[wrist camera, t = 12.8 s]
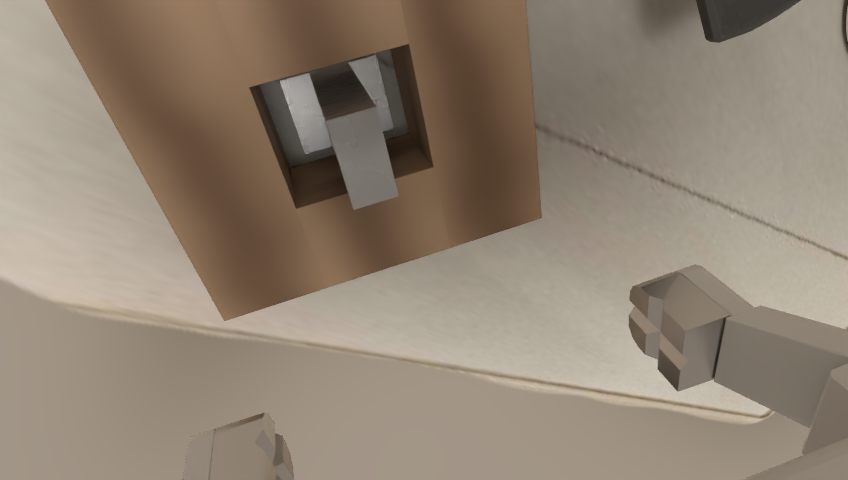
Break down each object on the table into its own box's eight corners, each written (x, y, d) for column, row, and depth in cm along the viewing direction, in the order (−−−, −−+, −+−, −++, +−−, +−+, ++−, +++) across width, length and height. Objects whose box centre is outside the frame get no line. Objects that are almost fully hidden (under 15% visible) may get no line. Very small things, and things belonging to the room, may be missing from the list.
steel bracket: (372, 50, 27) (413, 95, 20) (389, 122, 29) (432, 185, 22) (278, 76, 26) (287, 132, 19) (303, 147, 29) (319, 220, 22)
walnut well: (472, -116, 24) (516, -124, 20) (506, 181, 33) (541, 217, 29) (79, -23, 22) (39, -10, 18) (228, 268, 31) (224, 321, 27)
